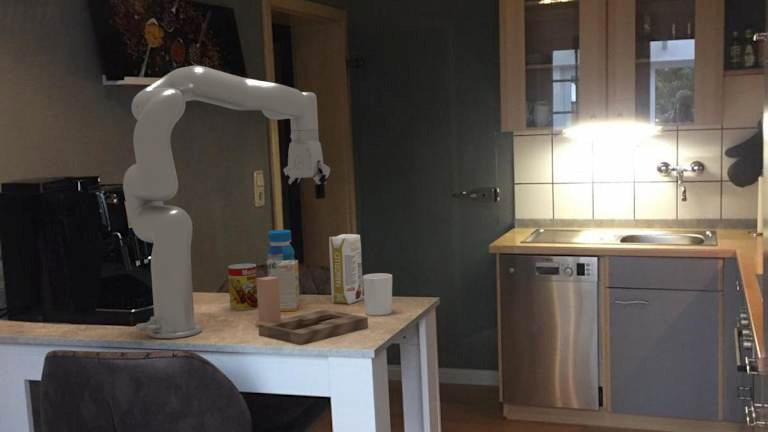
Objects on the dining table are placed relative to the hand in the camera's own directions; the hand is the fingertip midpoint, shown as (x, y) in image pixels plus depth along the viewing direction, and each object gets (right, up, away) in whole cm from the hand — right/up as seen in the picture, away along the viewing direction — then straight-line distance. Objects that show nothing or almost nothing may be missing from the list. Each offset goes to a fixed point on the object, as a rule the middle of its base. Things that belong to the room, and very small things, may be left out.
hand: (307, 198), depth 230 cm
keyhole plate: (+4, -33, -31) cm, 45 cm away
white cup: (+20, -31, -13) cm, 39 cm away
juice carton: (+11, -30, +5) cm, 32 cm away
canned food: (-18, -31, +2) cm, 36 cm away
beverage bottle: (-9, -30, +15) cm, 34 cm away
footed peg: (-8, -33, -22) cm, 40 cm away
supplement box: (-5, -31, -2) cm, 31 cm away
